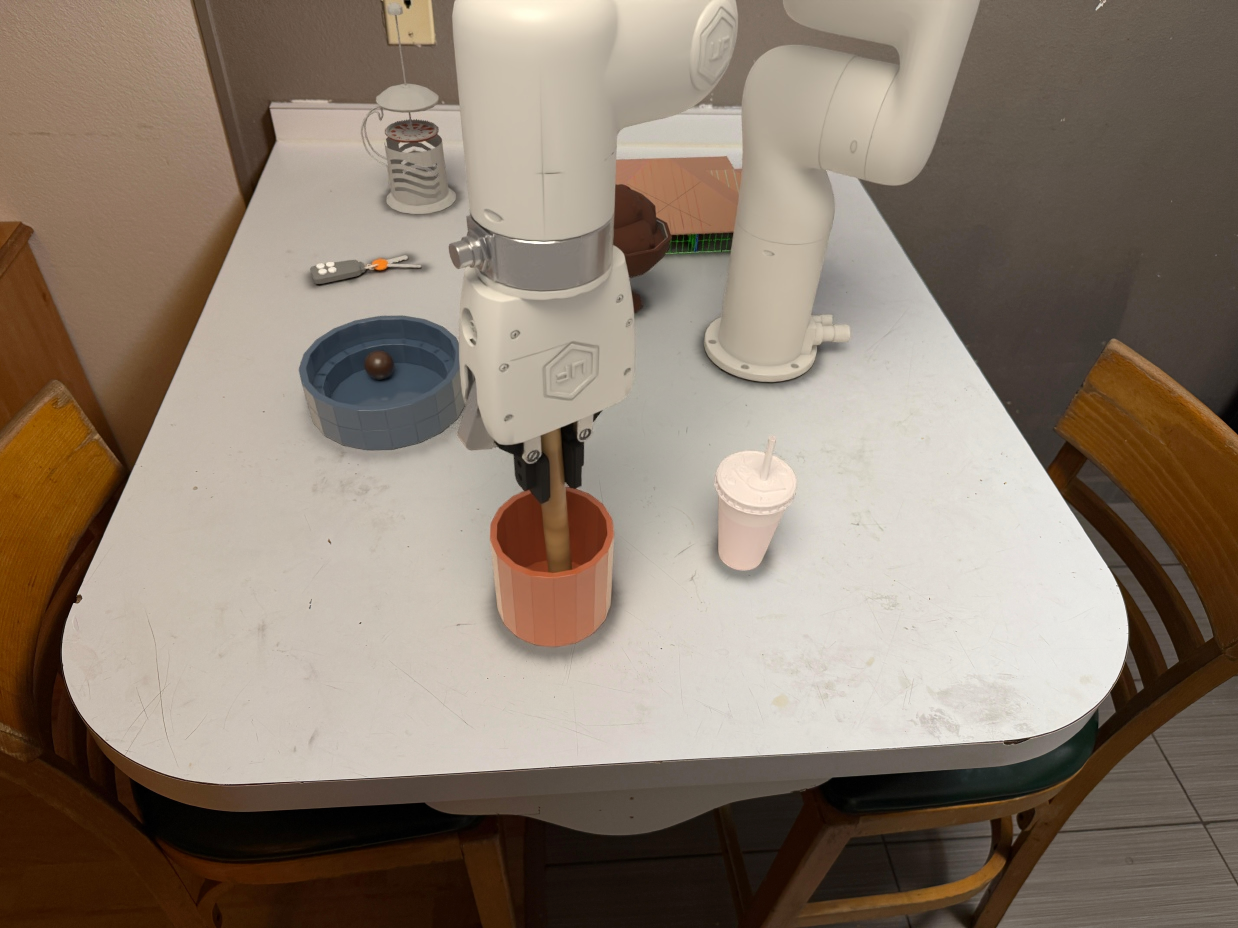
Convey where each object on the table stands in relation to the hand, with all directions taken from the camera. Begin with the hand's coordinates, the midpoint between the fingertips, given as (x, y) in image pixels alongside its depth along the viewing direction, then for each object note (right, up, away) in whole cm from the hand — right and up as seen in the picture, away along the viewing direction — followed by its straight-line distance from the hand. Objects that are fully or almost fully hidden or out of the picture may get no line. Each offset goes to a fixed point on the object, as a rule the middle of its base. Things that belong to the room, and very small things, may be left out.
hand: (550, 481), depth 56 cm
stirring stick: (0, -10, +8) cm, 12 cm away
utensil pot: (0, -10, +10) cm, 14 cm away
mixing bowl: (-19, +7, +27) cm, 34 cm away
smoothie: (+15, -7, +14) cm, 22 cm away
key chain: (-27, +25, +45) cm, 58 cm away
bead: (-19, +12, +27) cm, 35 cm away
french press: (-24, +39, +60) cm, 76 cm away
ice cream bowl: (+5, +20, +42) cm, 47 cm away
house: (+9, +36, +59) cm, 69 cm away
